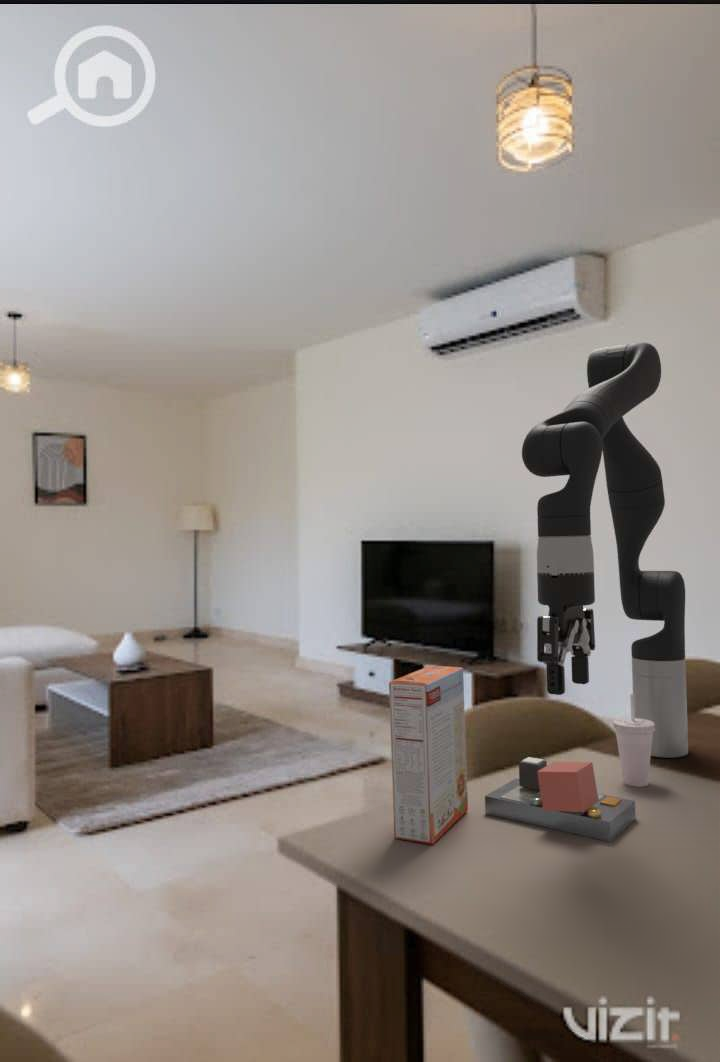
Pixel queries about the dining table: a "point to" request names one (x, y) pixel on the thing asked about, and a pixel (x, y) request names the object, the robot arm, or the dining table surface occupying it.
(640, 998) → the dining table surface
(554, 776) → the salmon pink cube
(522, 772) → the toggle
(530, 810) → the panel
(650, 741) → the smoothie
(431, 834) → the cracker box
